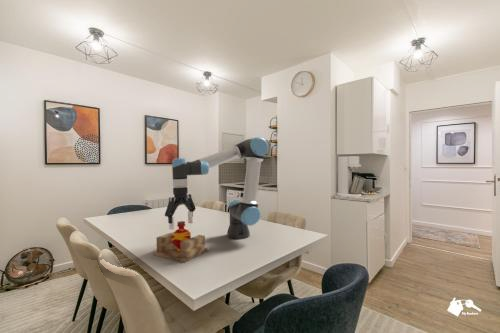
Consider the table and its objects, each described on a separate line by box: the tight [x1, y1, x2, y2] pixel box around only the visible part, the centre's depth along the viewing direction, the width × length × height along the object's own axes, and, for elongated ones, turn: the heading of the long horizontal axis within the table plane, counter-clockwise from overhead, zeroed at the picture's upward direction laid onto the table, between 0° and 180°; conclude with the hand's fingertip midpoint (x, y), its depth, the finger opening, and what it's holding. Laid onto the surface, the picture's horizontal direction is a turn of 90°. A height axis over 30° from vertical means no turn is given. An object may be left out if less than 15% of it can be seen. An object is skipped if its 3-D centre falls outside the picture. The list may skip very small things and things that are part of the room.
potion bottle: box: [171, 220, 192, 251], centre depth 128 cm, size 10×10×15 cm
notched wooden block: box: [152, 231, 209, 264], centre depth 128 cm, size 18×22×9 cm
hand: (181, 226), depth 128 cm, fingers open, 13 cm apart
